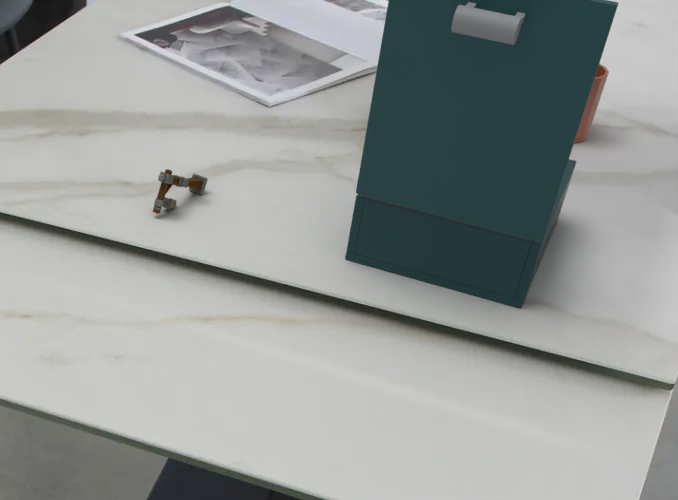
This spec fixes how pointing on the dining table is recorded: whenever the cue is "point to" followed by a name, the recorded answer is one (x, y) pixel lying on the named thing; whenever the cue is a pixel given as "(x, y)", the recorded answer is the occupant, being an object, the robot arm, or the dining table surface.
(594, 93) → the cup
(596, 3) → the lid
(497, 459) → the dining table surface
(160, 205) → the brown grey bent piece
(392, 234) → the teal box base
